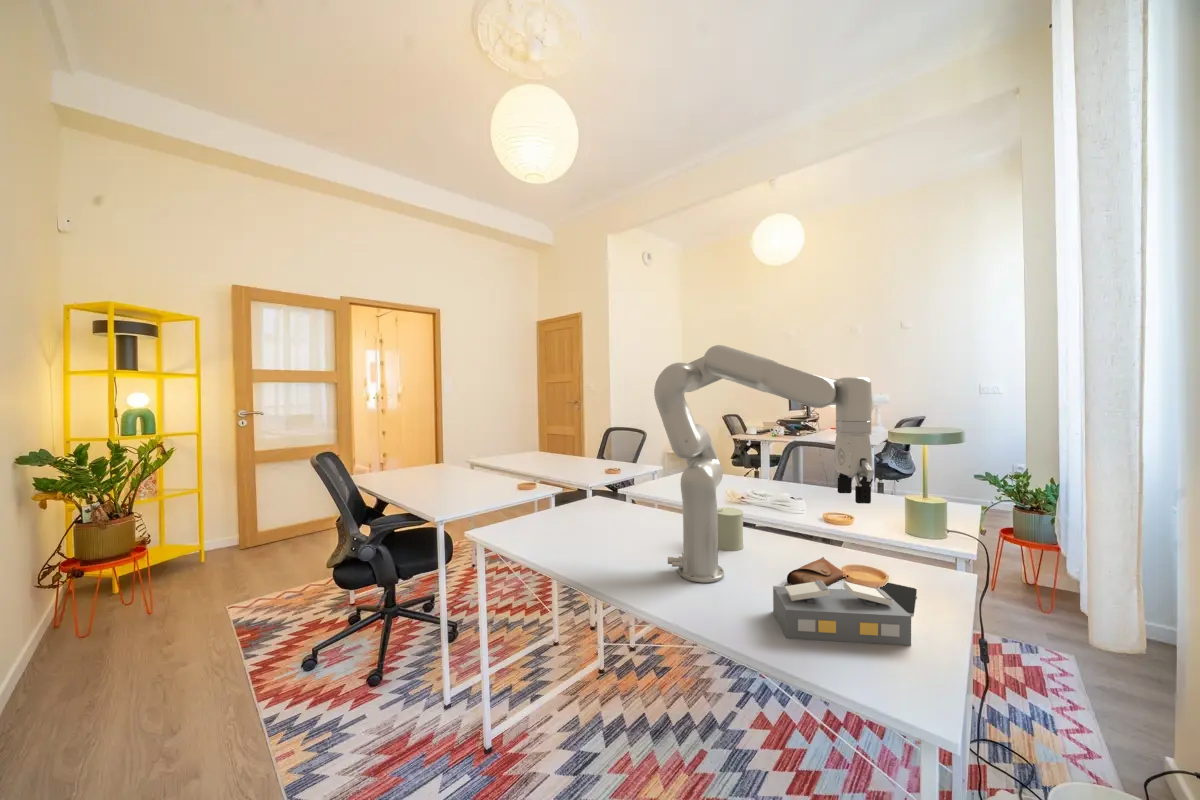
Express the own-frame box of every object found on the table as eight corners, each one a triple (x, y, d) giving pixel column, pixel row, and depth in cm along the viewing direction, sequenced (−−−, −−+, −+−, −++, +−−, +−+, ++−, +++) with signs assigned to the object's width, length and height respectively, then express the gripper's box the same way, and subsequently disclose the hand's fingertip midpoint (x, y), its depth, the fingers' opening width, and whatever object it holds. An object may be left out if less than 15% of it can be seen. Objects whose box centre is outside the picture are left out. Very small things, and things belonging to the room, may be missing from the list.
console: (786, 638, 92) (786, 607, 92) (773, 611, 103) (773, 583, 103) (911, 646, 89) (911, 613, 89) (884, 617, 100) (884, 588, 100)
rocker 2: (851, 596, 93) (853, 589, 93) (843, 586, 98) (844, 580, 98) (891, 605, 92) (893, 599, 92) (881, 595, 97) (883, 589, 97)
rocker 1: (791, 600, 95) (790, 594, 95) (786, 591, 100) (784, 585, 100) (830, 595, 94) (828, 588, 94) (822, 585, 98) (821, 579, 98)
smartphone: (873, 603, 105) (879, 580, 117) (873, 609, 105) (879, 585, 117) (914, 614, 100) (917, 588, 112) (914, 619, 100) (917, 593, 112)
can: (713, 540, 151) (712, 505, 151) (740, 541, 150) (740, 506, 150) (716, 550, 142) (716, 513, 142) (746, 551, 141) (745, 514, 140)
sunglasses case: (817, 594, 111) (804, 567, 114) (795, 599, 116) (782, 573, 119) (851, 575, 122) (838, 551, 124) (829, 580, 127) (817, 557, 129)
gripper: (823, 425, 116) (823, 489, 117) (853, 431, 99) (853, 507, 100) (853, 424, 115) (853, 489, 116) (889, 431, 98) (888, 507, 99)
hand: (853, 497), depth 108 cm, fingers open, 9 cm apart
